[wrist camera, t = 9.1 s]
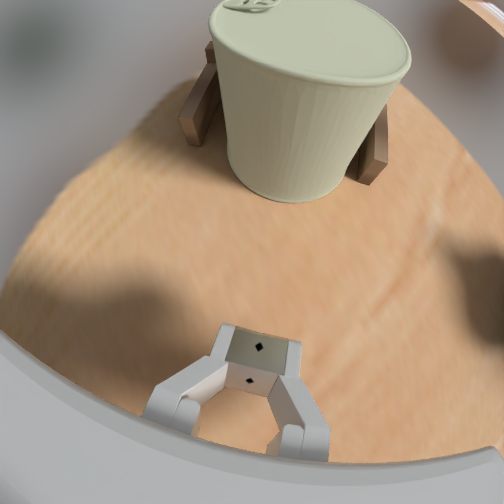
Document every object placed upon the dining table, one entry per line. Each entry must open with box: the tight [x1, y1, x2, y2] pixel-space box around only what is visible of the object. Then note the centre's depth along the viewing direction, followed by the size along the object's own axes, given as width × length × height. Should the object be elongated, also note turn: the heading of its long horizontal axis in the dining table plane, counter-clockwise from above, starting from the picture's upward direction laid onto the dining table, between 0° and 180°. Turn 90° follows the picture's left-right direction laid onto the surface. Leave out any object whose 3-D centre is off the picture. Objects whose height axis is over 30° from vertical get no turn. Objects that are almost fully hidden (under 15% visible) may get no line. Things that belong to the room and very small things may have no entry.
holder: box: [178, 41, 388, 185], centre depth 18 cm, size 7×14×5 cm, turn 76°
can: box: [208, 0, 411, 203], centre depth 14 cm, size 9×9×12 cm
